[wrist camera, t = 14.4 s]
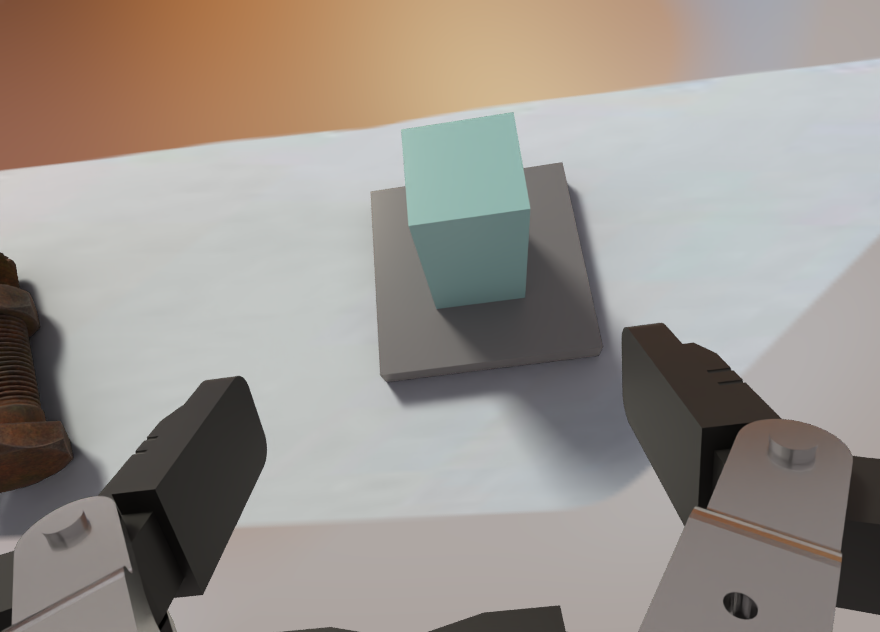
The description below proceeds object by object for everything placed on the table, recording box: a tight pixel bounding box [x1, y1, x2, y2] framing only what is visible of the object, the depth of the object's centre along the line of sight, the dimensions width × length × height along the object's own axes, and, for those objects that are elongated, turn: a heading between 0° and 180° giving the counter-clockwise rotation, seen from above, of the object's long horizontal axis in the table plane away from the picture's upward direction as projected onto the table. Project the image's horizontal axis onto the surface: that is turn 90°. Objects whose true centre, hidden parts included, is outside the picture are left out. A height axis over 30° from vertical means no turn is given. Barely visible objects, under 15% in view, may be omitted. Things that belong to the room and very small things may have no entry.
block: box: [401, 112, 530, 309], centre depth 27 cm, size 5×5×9 cm
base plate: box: [371, 162, 603, 382], centre depth 31 cm, size 12×12×4 cm
